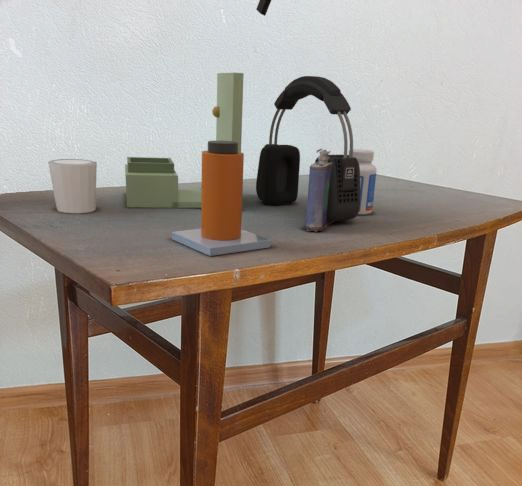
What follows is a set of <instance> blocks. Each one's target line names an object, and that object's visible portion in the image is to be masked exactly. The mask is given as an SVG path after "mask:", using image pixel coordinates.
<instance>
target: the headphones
mask: <svg viewBox="0 0 522 486" xmlns="http://www.w3.org/2000/svg"><path fill="white" fill-rule="evenodd" d="M309 96H313V97H315V98H316V99H318V100H319V101H321V102H323V103H324V105H325V107H326V109H327V110H328V112H329V114H330V115H337V116H338V119H339V122H340V124H341V129H342V133H343V143H344V144H343V154H328V157H330V158H329V160H328V163H330V162H332V163H333V166H332V171H331V177H330V185H329V194H328V205H327V221H328V222H332V223H334V222H344V221H351V220H353V219H355V218H356V217H358V215H357V214H358V212H359V209H360V167H359V162H358V160H357V158H355V157H352V156H353V149H354V135H353V129H352V124H351V121H350V118H349V116H348V114H349V113H350V111H352V108H351V106H350V103H349V102H348V100H347V98H346V97H345V96H344V94H343V93H342V91H341V89H340V88H339V86H338V85H337V84H335V83H334V82H333V81H332V80H330V79H328V78H326V77H323V76H317V75H316V76H315V75H304V76H299V77H297V78H295V79H293V80H292V81H290V82H289V83H288V84H287V85H285V87H284V89H283V90H282V91H281V93H280V94H279V95H278V96H277V98H276V100H275V101H274V103H273V105H274V106H275V109H276V111H275V112H274V115H273V118H272V121H271V124H270V129H269V138H268V143H267V144H265V145H264V146H263V147H262V148H261V150H260V153H259V159H258V164H257V165H258V167H257V173H256V174H257V175H256V180H255V181H256V182H255V192H256V193H255V194H256V196H257V198H258V199H259V200H260V201H261V202H262V203H263V204H265V205H271V206H278V205H291V204H294V203H295V202H296V201H297V199H298V194H299V184H300V183H299V182H300V167H301V166H300V165H301V152H300V149H299V147H297V146H294V145H292V144H278V136H279V129H280V124H281V121H282V119H283V117H284V114H285V113H286V111H287V110H288V111H291V110H293V109H294V108H295V106H296V105H297V104H298V102H299V101H300V100H302V99H305V98H307V97H309ZM279 113H280V114H279ZM344 120H345V121H344ZM276 121H277V122H276ZM345 123H346V124H345ZM275 124H276V126H275ZM346 126H347V128H346ZM274 128H275V129H274ZM347 130H348V131H347ZM273 134H274V138H273ZM348 137H349V141H348ZM273 139H274V140H273ZM348 143H349V150H350V152H349V151H348ZM318 161H319V160H318V157H316V158H315V161H314V163H316V162H318Z"/></svg>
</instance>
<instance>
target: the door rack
mask: <svg viewBox="0 0 522 486" xmlns="http://www.w3.org/2000/svg"><path fill="white" fill-rule="evenodd" d="M244 74H245V73H243V72H218V73H217V74H216V106H214V107H213V108H212V110H211V111H212V116H213V117H215V118H216V120H215V121H216V122H215V123H216V129H215V139H216V140H215V141H233V142H237V143H238V152H241V153H242V138H243V137H242V135H243V134H242V133H243V104H244V103H243V102H244V101H243V100H244V76H245V75H244ZM126 160H127V161H126V162H127V164H124V174H125V175H124V176H125V192H126V193H125V195H126V198H125V199H126V208H146V209H149V208H151V209H155V208H156V209H158V208H159V209H162V208H163V209H165V208H166V209H201V192H202V188H200V189H199V188H179V175H178V172H176V170H175V163H174V161H173V160H172V158H171V157H147V156H146V157H143V156H127V157H126Z"/></svg>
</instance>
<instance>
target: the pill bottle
mask: <svg viewBox="0 0 522 486" xmlns="http://www.w3.org/2000/svg"><path fill="white" fill-rule="evenodd" d="M349 152H350V149H349V150H348V153H349ZM374 154H375V152H374V150H371V149H358V148H357V149H356V148H355V149H354V148H353V156H352V157H355V158H357V160H358V162H359V167H360V209H359V212H358V214H357V216H361V215H370V214H371V213H372V212H373V206H374V199H375V189H376V182H377V181H376V179H377V167H376V166H375V165H374V164H373V161H374V156H375V155H374Z"/></svg>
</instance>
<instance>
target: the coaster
mask: <svg viewBox="0 0 522 486" xmlns="http://www.w3.org/2000/svg"><path fill="white" fill-rule="evenodd" d="M171 240H172V241H175V242H176V243H180V244H181V245H184V246H186V247H188V248H191V249H193V250H195V251H198V252H200V253H202V254H204V255H206V256H208V257H213V256H220V255H221V256H222V255H227V254H234V253H235V254H236V253H240V252H248V251H255V250H262V249H263V250H264V249H270V248H271V242H272V241H271V238H267V237H264V236H261V235H258V234H255V233H254V232H250V231H247V230H244V229H242V228H241V237H240V238H239V239H235V240H225V241H222V240H211V239H207V238H204V237H202V236H201V228H194V229H185V230H176V231H172V232H171Z"/></svg>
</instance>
